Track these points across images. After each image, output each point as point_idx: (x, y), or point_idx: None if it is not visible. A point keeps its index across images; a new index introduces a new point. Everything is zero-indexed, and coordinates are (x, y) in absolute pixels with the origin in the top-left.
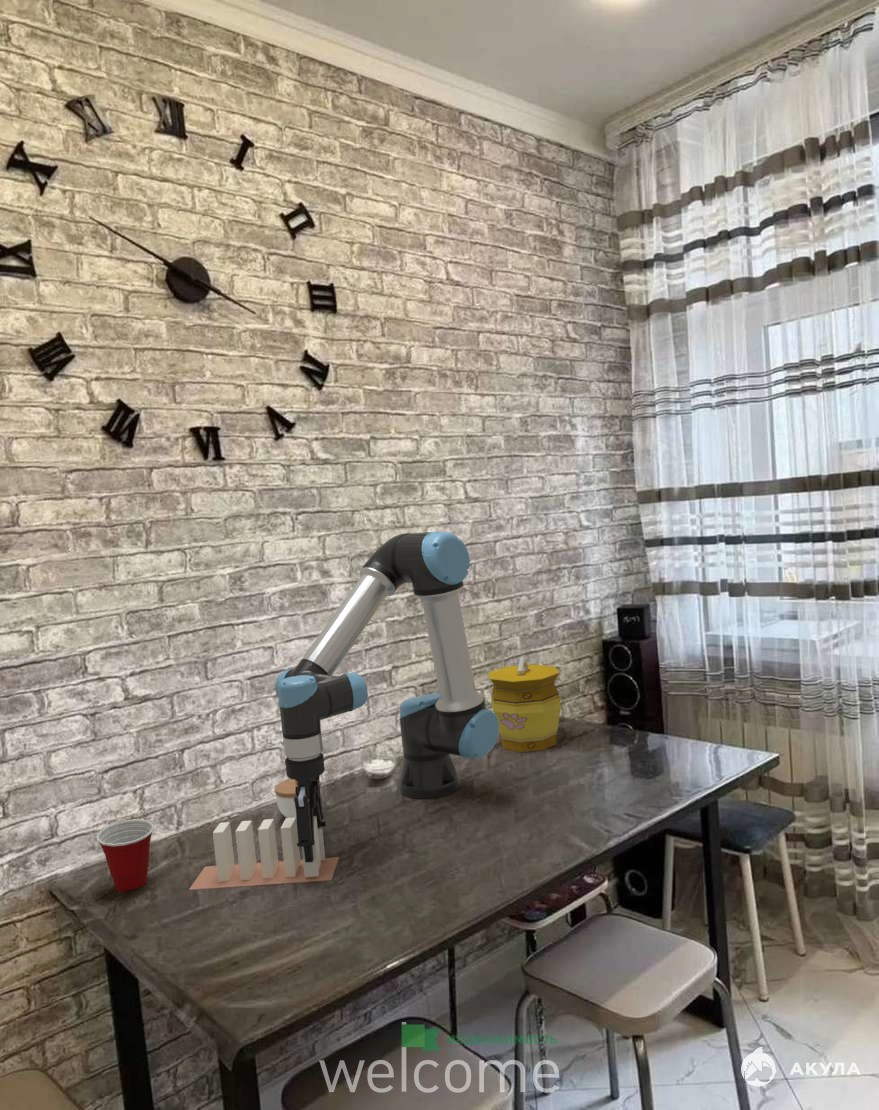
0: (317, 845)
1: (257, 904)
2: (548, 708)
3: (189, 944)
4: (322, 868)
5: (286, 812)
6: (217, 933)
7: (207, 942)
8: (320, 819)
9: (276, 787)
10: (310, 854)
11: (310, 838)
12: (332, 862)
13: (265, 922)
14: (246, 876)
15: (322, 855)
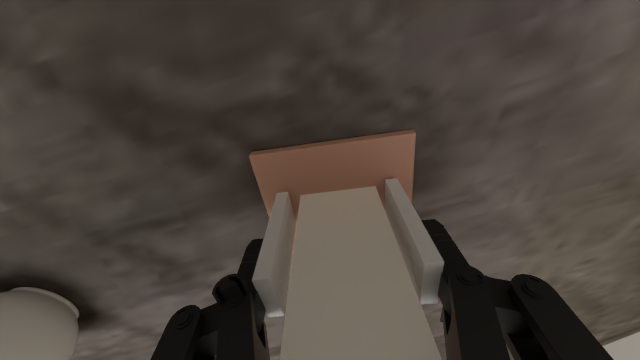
0: (325, 242)
1: (482, 262)
2: None
3: (597, 308)
4: (332, 182)
5: (73, 347)
6: (580, 286)
7: (608, 289)
8: (242, 329)
9: None
10: (453, 245)
11: (579, 320)
12: (289, 165)
13: (584, 225)
14: None
15: (286, 205)
